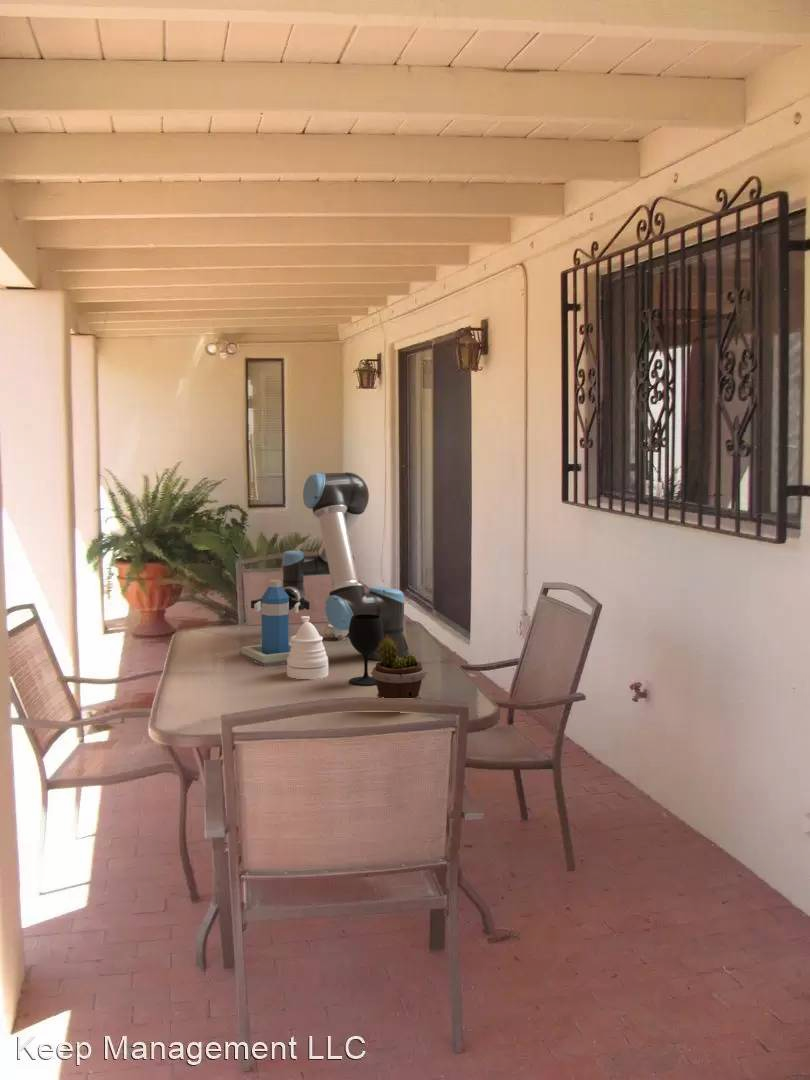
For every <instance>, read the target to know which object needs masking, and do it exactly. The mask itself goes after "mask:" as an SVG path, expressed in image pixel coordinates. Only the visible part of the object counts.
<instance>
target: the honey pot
mask: <svg viewBox="0 0 810 1080" xmlns="http://www.w3.org/2000/svg"><path fill="white" fill-rule="evenodd" d="M300 618H301V619H300V620H301V621H302V624H301V625H300V627H299V629H298V630H297V631H296V634H295V635H292V636H291V637H290V638H289V641H291V643H292V647H291V648H290V652H289V656H288V658H287V664H286V676H287V675H288V676H289V677H292V678H297V679H315V680H317V679H316V678H321V679H324V678H323V677H325V678H327V677H328V676H329V657H328V655H327V652H326V647H325V646H324V643H323V640H324V638H323V636H321V635H320V634H319V632H318V630H317V628H316V627H315V626H314V624H312V623H311V622H309V621H310V616H309V615H307V616H304V615H303V616H301V617H300ZM288 676H287V677H288ZM326 676H327V677H326ZM289 677H288V678H289ZM292 678H291V679H292ZM297 679H296V680H297Z"/></svg>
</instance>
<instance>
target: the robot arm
mask: <svg viewBox="0 0 810 1080" xmlns="http://www.w3.org/2000/svg"><path fill="white" fill-rule="evenodd" d="M369 493H370V492H369V488H368V485H367V484H366V482H365V480H364V479H363V478H362V477H361V476H359V474H356V473H354V472H349V471H348V472H319V473H313V474H310V475H309V476H308V477H307V478H306V480H305V482H304V486H303V491H302V499H303V504H304V505H305V507H306V508H307V509H309V510H312V513H313V514H312V515H313V517H315V518H316V519H318V521H319V525H320V531H321V535H322V541H323V542H322V544H321V545H320V549H319V550H318V552H317V554H312V555H311V554H309V555H305V554H304V552H303V551H302V550H285V551H284V552H283V554H282V563H281V564H282V588H283V589H284V591H285V592H286V593H287V595H288V596H289V611H291V610H293V609H294V610H293V611H294V614H296V615H297V614H298V613H299V612H300V611H303V610H307V611H309V610H310V607H311V606H310V601H308V600H307V599H305V597H306V596H305V595H306V588H305V585H304V578H305V577H312V576H330V580H331V581H330V582H331V585H332V587H331V589H330V590H329V593H328V594H329V596H328V597H327V598H326V600H325V603H324V604H325V607H324V608H325V614H326V618H327V621H328V622H329V624H331V625H332V626H333V627H334V628H335V629H337V630H349V625H350V621H351V618H352V616H354V615H360V614H372V615H378V616H380V617H381V620H382V625H383V636H384V637H386V638H387V639H388V638H390V639H392V641H394V643H395V641H396V642H397V643H396V644H398V645H397V646H398V647H397V646H396V647H397V649H398V650H397V653H396V655H399V656H398V657H399V658H402V657H403V656H405V654H406V653H407V652H408V653H409V654H410V649H409V645H408V643H407V640H406V636H405V632H404V630H405V596H404V595H405V594H404V592H403V591H402V590H400V589H398V588H397V589H396V588H392V587H383V586H382V587H381V586H370V587H369V589H368V592H366V591H365V586H364V584H362V583H361V582H359V581H358V575H357V571H356V566H355V565H356V564H355V560H354V557H353V552H352V547H351V546H352V545H351V541H350V538H349V537H350V535H351V532H352V531H353V529H354V526H355V525H356V522H357V521H358V519H359V516H361V515H362V514H364V513H365V511H366V509H367V507H368V505H369V501H370V500H369V498H370V497H369V496H370V494H369ZM250 608H251V609H254V610H253V611H254V613H256V614H257V613H258V612H260V611H262V607H261V598H258V599H253V600H251V601H250ZM386 634H387V635H386ZM387 636H388V637H387ZM384 637H383V639H382V642H383V641H384V639H385V638H384ZM393 639H394V640H393ZM396 644H395V645H396ZM380 647H381V644H380ZM378 649H380V648H379V647H378V648H377V649H376V650H375V651H374V652H373V653H371V654H370V655H369V657H368V660H375V661H381V659H382V658H381V657H380V656H381V655H378V654H379V652H380V650H378ZM377 650H378V651H377ZM398 651H399V652H398ZM380 653H381V652H380ZM408 653H407V654H408ZM379 657H380V658H379ZM398 657H396V658H398ZM399 658H398V659H399Z"/></svg>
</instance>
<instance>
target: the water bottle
mask: <svg viewBox="0 0 810 1080" xmlns="http://www.w3.org/2000/svg"><path fill="white" fill-rule="evenodd" d="M260 599H261V607H262V608H261V645H262V653H263V654H266V655H268V654H276V653H284V652H289V643H290V610H289V596H288V595H287V593H286V592H285V591H284V589H283V586H282V580H280V579H269V580H268V587H267V589H266V590H265V592H264V593H263V595H262V596H261V598H260Z"/></svg>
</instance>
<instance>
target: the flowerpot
mask: <svg viewBox="0 0 810 1080" xmlns="http://www.w3.org/2000/svg"><path fill="white" fill-rule="evenodd" d="M386 635H387V634H386ZM383 637H384V636H383ZM387 637H388V636H387ZM384 638H385V639H384V641H383V642H381V647H380V646H378V647H379V648H380V649H378V650H380V652H381V653H380V652H379V654H378V655H381V656H380V657H381V658H382V659H381V660H380V661H378V662H376V664H375V666H374V667H373V668H372V671H371V672H370V674H371V675H372V676H371V677H373V678H374V679H376V685H375V686H376V688H377V691H378V692H377V694H376V698H377V697H378V698H382V697H384V698H414V699H420V700H421V693H420V689H421V685H422V682H423V681H422V680H424V679H425V678H426V674H427V673H428V672H427V671H426V669H425V667H423V666H422V662H421V661H417V657H416V656H415V655H414V653H410V652H409V653H408V652H407V653H408V654H407V653H406V654H405V656H403V657H402V658H399V657H398V656H399V655H396V653H397V650H398V649H397V647H398V646H397V645H398V644H396V643H397V642H396V641H395V643H394V641H392V639H390V638H388V639H387V638H386V637H384ZM393 640H394V639H393ZM395 644H396V645H395ZM396 646H397V647H396ZM378 650H377V651H378ZM398 652H399V651H398ZM380 657H379V658H380ZM396 657H398V658H399V659H398V658H396Z"/></svg>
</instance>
